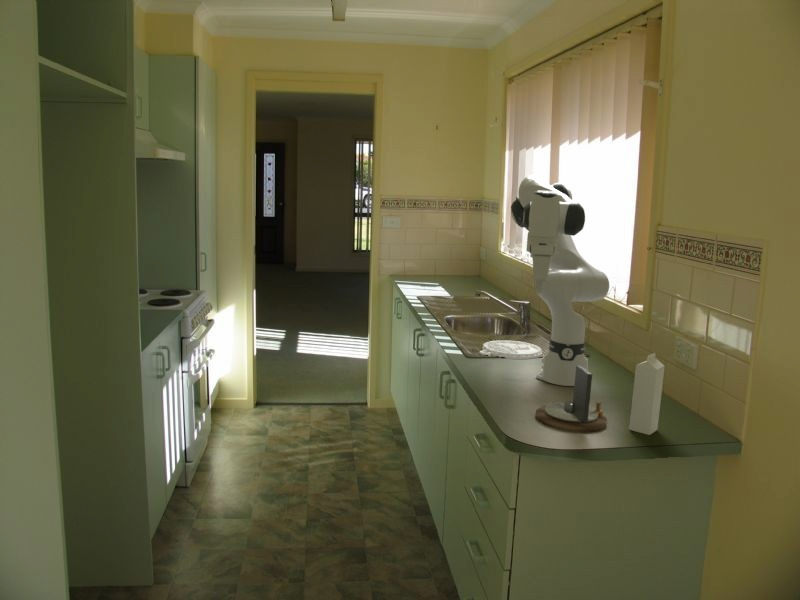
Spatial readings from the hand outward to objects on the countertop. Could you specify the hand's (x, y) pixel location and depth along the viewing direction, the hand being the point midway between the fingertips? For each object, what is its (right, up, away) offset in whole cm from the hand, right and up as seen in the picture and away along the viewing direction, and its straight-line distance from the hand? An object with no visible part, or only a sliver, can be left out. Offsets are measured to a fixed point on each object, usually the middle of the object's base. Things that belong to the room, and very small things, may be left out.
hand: (538, 292), depth 215 cm
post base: (+8, -37, -6) cm, 38 cm away
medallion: (+2, -24, +73) cm, 76 cm away
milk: (+28, -39, -11) cm, 49 cm away
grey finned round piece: (+9, -36, -7) cm, 38 cm away
